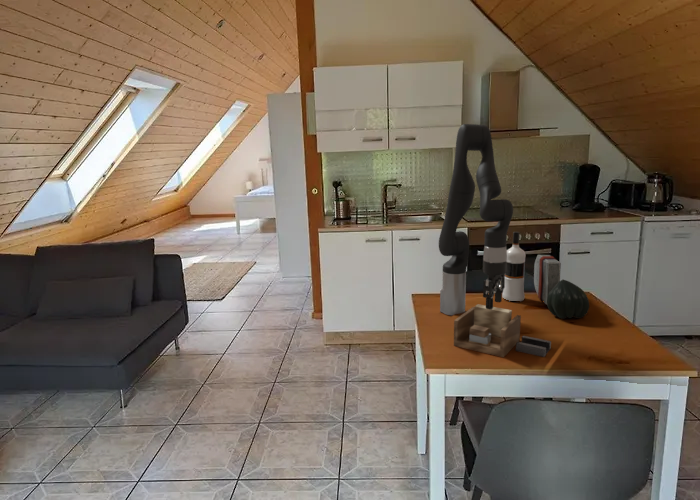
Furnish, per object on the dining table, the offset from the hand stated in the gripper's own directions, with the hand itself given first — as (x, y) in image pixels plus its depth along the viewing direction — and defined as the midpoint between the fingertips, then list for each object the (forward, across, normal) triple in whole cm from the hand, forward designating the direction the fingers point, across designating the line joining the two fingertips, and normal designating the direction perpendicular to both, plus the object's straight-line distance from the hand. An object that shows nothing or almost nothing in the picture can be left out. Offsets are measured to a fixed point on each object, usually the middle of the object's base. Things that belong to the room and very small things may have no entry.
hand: (493, 305), depth 166 cm
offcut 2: (+10, +9, -1) cm, 13 cm away
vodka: (+13, -50, -9) cm, 52 cm away
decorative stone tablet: (+13, -58, +2) cm, 60 cm away
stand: (+13, +2, +14) cm, 19 cm away
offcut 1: (+8, +9, -2) cm, 12 cm away
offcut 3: (+12, +9, -2) cm, 15 cm away
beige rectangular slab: (+12, 0, 0) cm, 12 cm away
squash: (+13, -39, +15) cm, 44 cm away
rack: (+13, +4, 0) cm, 14 cm away
